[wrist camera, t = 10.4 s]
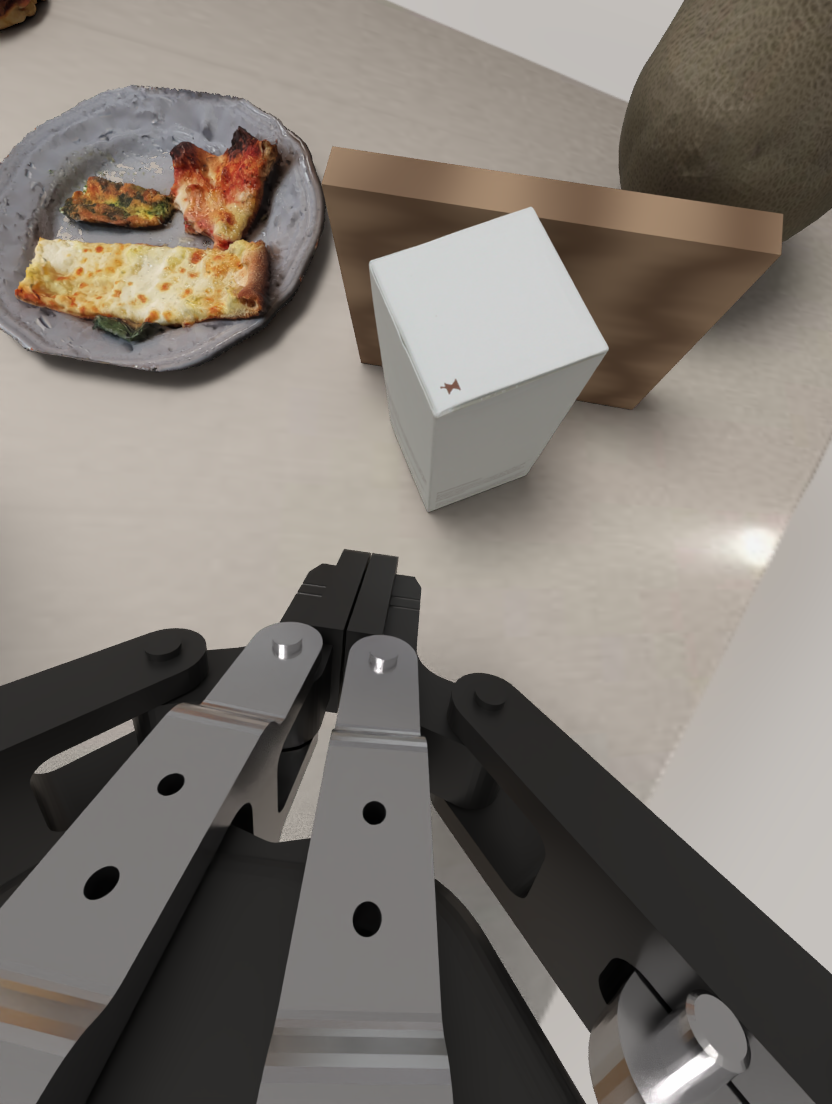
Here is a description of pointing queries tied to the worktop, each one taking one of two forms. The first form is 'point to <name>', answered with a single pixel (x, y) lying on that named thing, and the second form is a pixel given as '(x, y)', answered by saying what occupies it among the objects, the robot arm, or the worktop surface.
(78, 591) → the worktop surface
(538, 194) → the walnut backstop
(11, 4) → the burger
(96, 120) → the food plate
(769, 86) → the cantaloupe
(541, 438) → the supplement box
